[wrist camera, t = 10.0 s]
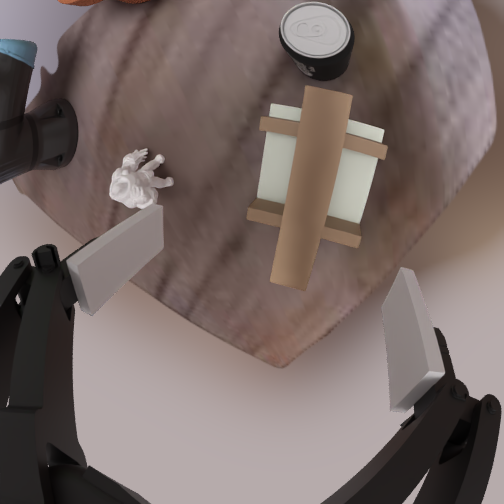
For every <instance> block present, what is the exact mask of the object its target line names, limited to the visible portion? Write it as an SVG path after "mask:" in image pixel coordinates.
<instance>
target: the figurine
mask: <svg viewBox="0 0 504 504" xmlns="http://www.w3.org/2000/svg"><path fill="white" fill-rule="evenodd" d="M147 150H148V149H147V148H146V149H143V150H140V151H139V152H138V150H135V151H134V152H133V153H132V154H130V153H129V154H127V155H126V156H125V157H124V158H123V165H122V168H117V169H116V171H115V172H114V173H113V175H112V183H111V185H110V193H109V195H110V197H111V198H112V199H114V200H116V201H118V202H122V203H123V204H124V205H126V206H127V207H128V208H135V207H138V208H141V209H144V208H145V207H147V206H149V205H150V204H156V203H157V199H158V192H157V190H156V189H155V188H151V187H156V188H163V187H167V186H168V187H169V186H172V185H173V184H174V181H173V178H172V177H167V178H166V179H162V178H159V177H154V172H153V171H152V170H154V169H156V168H157V167H159V166H160V163H163V162H164V160H165V158H164V156H163V155H161V154H159V155H157V156H156V157H155V159H154V160H151V161H150V162H148V163H147V164H145V165H144V166H143V167H142V168H141V169H139V170H138V171H137V172H135V171H136V170H137V169H138V165H139V163H140V162H142V161H145V160H144V159H143V158H147V156H144V155H146V154H148V152H145V151H147Z"/></svg>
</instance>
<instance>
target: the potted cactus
mask: <svg viewBox="0 0 504 504" xmlns="http://www.w3.org/2000/svg"><path fill="white" fill-rule="evenodd" d="M58 1H59V2H60V3H63V4H69V5H76V6H89V5H93V4H96V3H99V2H101V1H103V0H58ZM119 1H122V2H126V3H142V2H146V1H149V0H119Z"/></svg>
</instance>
